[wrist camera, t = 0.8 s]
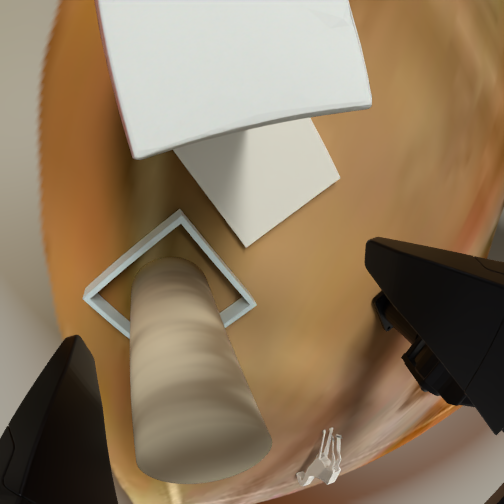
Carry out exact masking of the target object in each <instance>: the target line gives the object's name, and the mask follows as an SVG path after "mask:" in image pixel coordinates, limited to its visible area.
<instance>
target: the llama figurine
mask: <svg viewBox="0 0 504 504" xmlns="http://www.w3.org/2000/svg"><path fill="white" fill-rule="evenodd" d="M329 430H330V432H329V436H328V440H327V444H326V447H325V450H324V453H321V452H322V447H323V442H324V437H325V430H323V431H322V432H323V437H322V442H321V447H320V450H319V454H317V455H316V458H315V460H314V462H313V463H312V464H311V465H310V466H309V467H308V469H307V471H306V473H304V471H301V472H298V473H296V476H297V478H298V482H299V484H300V485H301V486H305V485H308V484H310V483H311V481H312V480H313V479H314V478H315V477H316V478H318V479H321V480H322V481H324V482H325V483H326V484H327V485H328V484H330V483H333V482H335V480H336V478H337V476H338V475H339V473H340V471H341V469H340V467H339V464H340V462H341V456H340V439H341V438H342V437H341V436H342V435H338V434H336V436H335V437H337V452H338V459H337V460H336V461H335V457H334V453H333V446H334V439H333V438H334V437H333V436H332V432H333V428H330V429H329ZM331 438H332V461H331V460H330V459H329V458H328V457H327V455H328V451H329V445H330V441H331Z"/></svg>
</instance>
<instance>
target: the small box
mask: <svg viewBox="0 0 504 504" xmlns="http://www.w3.org/2000/svg"><path fill="white" fill-rule="evenodd" d="M94 1H95V7H96V12H97V18H98V24H99V30H100V35H101V39H102V44H103V49H104V53H105V57H106V62H107V66H108V70H109V74H110V78H111V82H112V86H113V91H114V95H115V99H116V104H117V107H118V111H119V115H120V118H121V121H122V125H123V128H124V131H125V135H126V138H127V141H128V145H129V148H130V151H131V154H132V157H133V159H136V160H142V159H145V158H148V157H151V156H154V155H158V154H161V153H164V152H167V151H170V150H174V149H177V148H180V147H184V146H187V145H191V144H194V143H198V142H201V141H205V140H209V139H212V138H216V137H220V136H224V135H228V134H232V133H236V132H240V131H245V130H249V129H253V128H258V127H262V126H267V125H272V124H277V123H282V122H287V121H292V120H298V119H304V118H309V117H316V116H322V115H329V114H336V113H343V112H350V111H357V110H365V109H369V108H370V107H371V106H372V95H371V91H370V85H369V79H368V74H367V70H366V66H365V62H364V57H363V53H362V48H361V44H360V41H359V37H358V33H357V30H356V26H355V23H354V19H353V16H352V12H351V9H350V5H349V1H348V0H94Z"/></svg>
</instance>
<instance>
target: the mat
mask: <svg viewBox="0 0 504 504" xmlns="http://www.w3.org/2000/svg"><path fill="white" fill-rule="evenodd" d="M173 151H174V152H175V154H176V155H177V156H178V158H179V159H180V160H181V162H182V163H183V164H184V166H185V167H186V168H187V170H188V171H189V172H190V174H191V175H192V176H193V178H194V179H195V180H196V182H197V183H198V184H199V186H200V187H201V188H202V190H203V191H204V192H205V194H206V195H207V196H208V198H209V199H210V200H211V202H212V203H213V204H214V206H215V207H216V208H217V210H218V211H219V212H220V214H221V215H222V216H223V218H224V219H225V220H226V222H227V223H228V224H229V226H230V227H231V228H232V229H233V231H234V232H235V233H236V235H237V236H238V237H239V239H240V240H241V241H242V243H243V244H244V245H245V247H248V246H249V245H251V244H252V243H253V242H255V241H256V240H257V239H259V238H260V237H261V236H263V235H264V234H265V233H267V232H268V231H269V230H271V229H272V228H273V227H275V226H276V225H277V224H279V223H280V222H282V221H283V220H284V219H286V218H287V217H288V216H290V215H291V214H292V213H294V212H295V211H296V210H298V209H299V208H300V207H302V206H303V205H304V204H306V203H307V202H309V201H310V200H311V199H313V198H314V197H315V196H317V195H318V194H319V193H321V192H322V191H323V190H325V189H326V188H328V187H329V186H330V185H332V184H333V183H334V182H336V181H337V180H338V179H340V176H339V174H338V172H337V169H336V167H335V165H334V163H333V161H332V159H331V157H330V155H329V153H328V151H327V149H326V147H325V145H324V143H323V141H322V139H321V137H320V136H319V134H318V132H317V130H316V128H315V126H314V124H313V122H312V120H311V119H310V117H309V118H304V119H298V120H292V121H287V122H282V123H277V124H272V125H267V126H262V127H258V128H253V129H249V130H245V131H240V132H236V133H232V134H228V135H224V136H220V137H216V138H212V139H209V140H205V141H201V142H198V143H194V144H191V145H187V146H184V147H180V148H177V149H174V150H173Z"/></svg>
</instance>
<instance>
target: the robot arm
mask: <svg viewBox="0 0 504 504" xmlns="http://www.w3.org/2000/svg"><path fill="white" fill-rule="evenodd" d="M365 266H366V269H367V270H368V272H369V273H370V274H371V276H372V277H373V278H374V280H375V281H376V283H377V284H378V285H379V287H380V288H381V289H382V292H381V293H380V294H378V295H377V296H376V297H375V298H374V300H373V303H374V305H375V308H376V310H377V313H378V315H379V318H380V320H381V323H382V325H383V328H384V330H385V331H389V330H390V329H391V328H393V327H394V328H396V329H397V330H398V331H399V332H400V333H401V334H402V335H403V336H404V337H405V338H406V339H407V340H408V341H409V342H410V343H411V344H412V345H411V347H410V348H409V349H408V351H407V352H406V353H404V354H403V356H402V357H401V358H402V359H403V361H404V362H405V365H406V366H407V368H408V369H409V371H410V372H411V373H412V375H413V376H414V378H415V379H416V381H417V382H418V384H419V386H420V388H421V390H422V391H424V392H427V391H429V392H430V393H432V394H434V395H436V396H441V397H442V398H443V399H444V400H445V401H446V402H447V403H448V404H452V405H456V406H458V405H465V406H471V407H475V408H476V409H477V410H478V412H479V413H480V414H481V416H482V417H483V418H484V420H485V421H486V423H487V424H488V426H489V427H490V429H491V430H492V431H493V433H494V434H495V435H497V434H498V433H499V432H500V431H501V430H502V431H503V432H504V262H499V261H494V260H489V259H485V258H480V257H476V256H475V257H473V256H471V255H466V254H462V253H457V252H452V251H447V250H443V249H438V248H433V247H428V246H423V245H418V244H413V243H408V242H403V241H398V240H392V239H387V238H382V237H375V238H373V239H370V240H368V241H367V243H366V249H365ZM0 504H118V501H117V496H116V492H115V487H114V482H113V477H112V472H111V466H110V460H109V454H108V447H107V440H106V432H105V424H104V415H103V407H102V401H101V396H100V391H99V385H98V380H97V374H96V367H95V361H94V358H93V356H92V354H91V352H90V351H89V349H88V348H87V346H86V344H85V343H84V341H83V340H82V338H81V337H80V336H79V335H73V336H70V337H67V338H65V339H64V341H63V342H62V343H61V345H60V346H59V348H58V349H57V350H56V352H55V354H54V355H53V356H52V358H51V359H50V360H49V362H48V363H47V365H46V366H45V368H44V369H43V371H42V372H41V374H40V375H39V377H38V378H37V380H36V381H35V383H34V384H33V386H32V387H31V389H30V390H29V392H28V393H27V395H26V396H25V398H24V400H23V401H22V403H21V404H20V406H19V408H18V409H17V411H16V413H15V414H14V416H13V417H12V419H11V421H10V423H9V426H7V427H6V429H5V431H4V433H3V435H2V436H1V438H0ZM484 504H504V483H503V484H502V485H501V486H500V487H499V489H498V490H497V491H496V492H495V493H494V494H493V495H492V496H491V497H490V498H489V499H488V500H487V501H486V502H485V503H484Z"/></svg>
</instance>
